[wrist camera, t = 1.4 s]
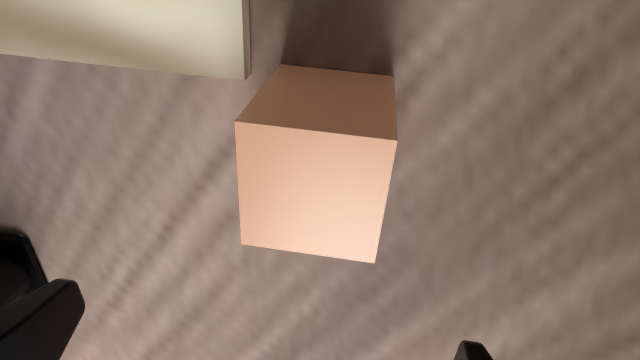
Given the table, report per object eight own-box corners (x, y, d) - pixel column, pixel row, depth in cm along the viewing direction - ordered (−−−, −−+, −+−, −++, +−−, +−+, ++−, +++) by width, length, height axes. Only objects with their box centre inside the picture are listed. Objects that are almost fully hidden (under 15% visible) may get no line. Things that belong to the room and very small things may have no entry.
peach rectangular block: (377, 174, 21) (374, 263, 15) (279, 162, 21) (241, 244, 16) (393, 76, 18) (397, 140, 12) (280, 64, 18) (234, 121, 13)
